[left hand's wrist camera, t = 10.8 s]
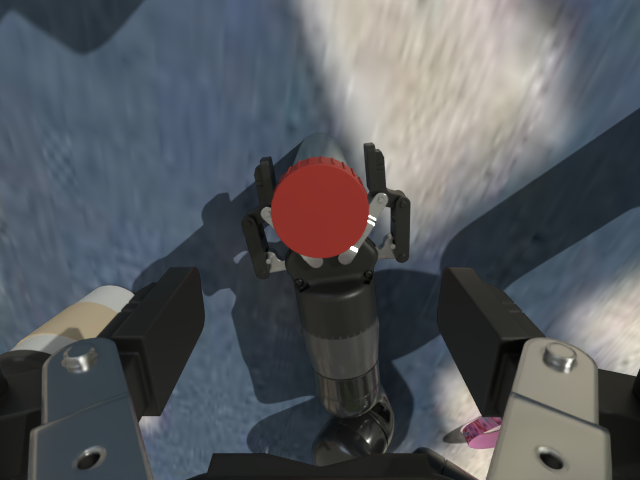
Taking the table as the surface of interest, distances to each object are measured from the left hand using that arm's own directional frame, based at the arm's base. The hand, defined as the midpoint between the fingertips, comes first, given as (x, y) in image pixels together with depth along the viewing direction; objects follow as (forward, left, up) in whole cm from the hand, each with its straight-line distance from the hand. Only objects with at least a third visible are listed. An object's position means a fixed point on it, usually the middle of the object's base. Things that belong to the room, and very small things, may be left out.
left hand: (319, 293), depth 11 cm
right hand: (0, -1, -20) cm, 21 cm away
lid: (0, 0, -8) cm, 8 cm away
